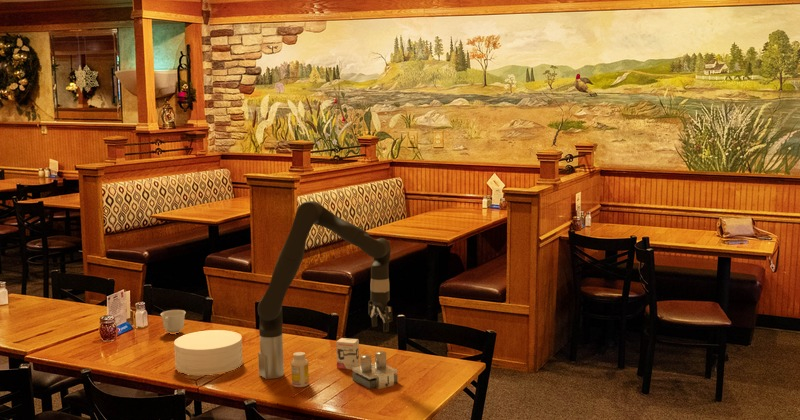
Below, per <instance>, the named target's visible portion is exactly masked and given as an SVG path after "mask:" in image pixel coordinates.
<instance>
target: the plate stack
mask: <svg viewBox="0 0 800 420" xmlns="http://www.w3.org/2000/svg"><path fill="white" fill-rule="evenodd" d="M242 336H243V335H241V334H240V333H238V332H235V331H233V330H232V331H231V330H223V329H211V330H210V329H208V330H201V331H195V332H189V333H186V334H184V335H181V336H178V337H177V338H176V339H175V340H174V341H173V347H174V363H175V366H174V367H175V370H176V369H177V370H178V371H179V372H182V373H185V374H189V375H210V374H218V373H223V372H227V371H231V370H234V369H236V368H238V367H239V368H241V367H242V366H243V364H242V363H244V359H243V342H242V341H243V337H242ZM241 365H242V366H241ZM240 366H241V367H240ZM239 368H238V369H239ZM236 370H237V369H236ZM234 371H235V370H234ZM179 372H178V373H179ZM231 372H232V371H231ZM189 375H188V376H189Z"/></svg>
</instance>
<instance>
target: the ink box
mask: <svg viewBox="0 0 800 420" xmlns="http://www.w3.org/2000/svg"><path fill="white" fill-rule="evenodd" d="M359 342H360V341H359V339H358V338H347V337H346V338H345V337H344V338H343V337H341V338H339V339H338V340H337V341H336V369H345V370H352V368H354V367H358V366H360V347H359V346H360V345H359V344H360V343H359Z"/></svg>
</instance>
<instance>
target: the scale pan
mask: <svg viewBox="0 0 800 420" xmlns="http://www.w3.org/2000/svg"><path fill="white" fill-rule="evenodd" d="M352 372H353V373H354V372H356V373H358V374H360V375H362V376H364V377H366V378H368V379H373V378H376V375H380V374H384V373H388V372H393V373H394V374H397V373H398V369H396V368H395V367H392V366H391V365H387V364H386V368H385V369H376V368H375V362H372V371H371V372H369V373H363V372H361V368H360V365H359V366H358V367H354V368H352Z"/></svg>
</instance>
